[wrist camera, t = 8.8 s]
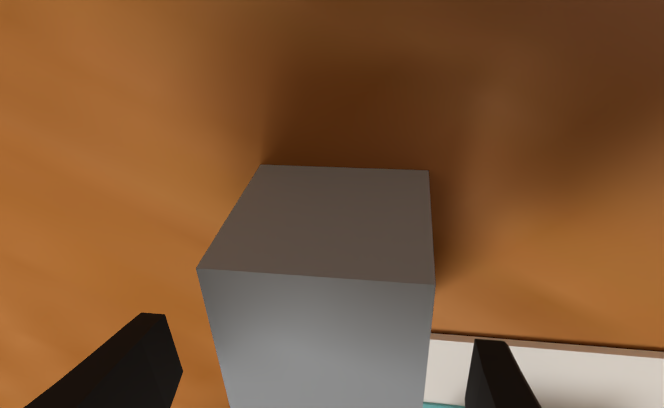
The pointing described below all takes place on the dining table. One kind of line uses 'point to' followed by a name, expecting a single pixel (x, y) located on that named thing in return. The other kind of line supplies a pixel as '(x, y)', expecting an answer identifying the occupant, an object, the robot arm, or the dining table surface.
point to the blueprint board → (552, 374)
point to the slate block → (324, 289)
